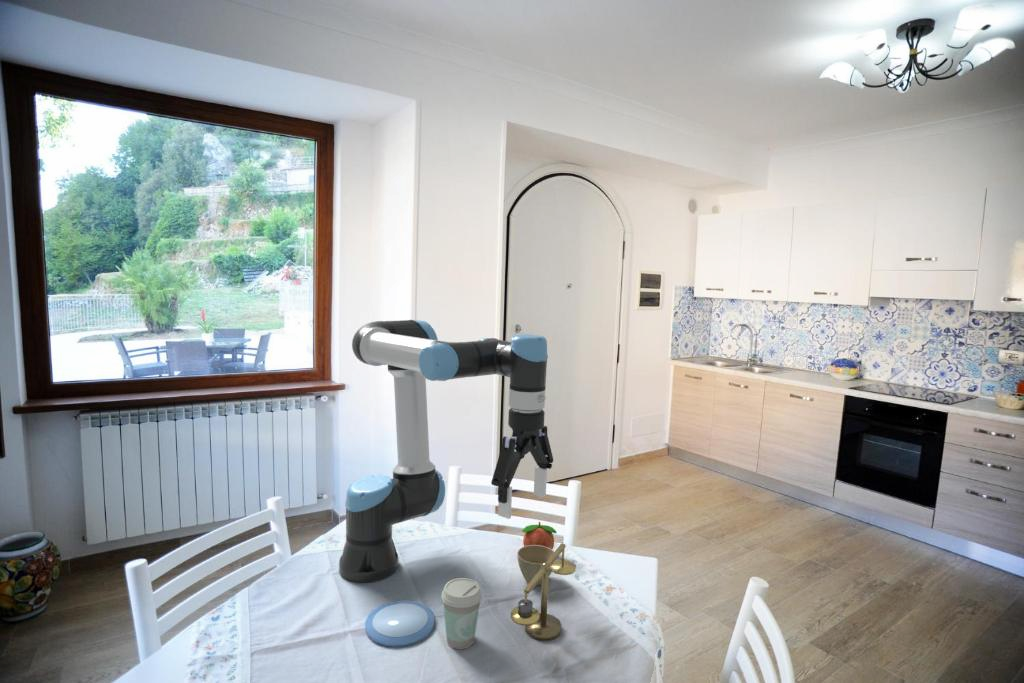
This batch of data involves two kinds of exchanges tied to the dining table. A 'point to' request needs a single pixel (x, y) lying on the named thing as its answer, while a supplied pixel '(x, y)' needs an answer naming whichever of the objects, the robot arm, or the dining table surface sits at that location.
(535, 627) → the balance
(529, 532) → the fruit
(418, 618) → the dish
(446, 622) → the coffee cup
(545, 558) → the flower pot
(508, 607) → the dining table surface
